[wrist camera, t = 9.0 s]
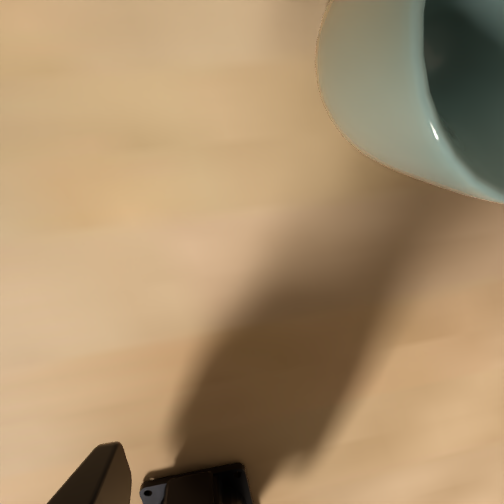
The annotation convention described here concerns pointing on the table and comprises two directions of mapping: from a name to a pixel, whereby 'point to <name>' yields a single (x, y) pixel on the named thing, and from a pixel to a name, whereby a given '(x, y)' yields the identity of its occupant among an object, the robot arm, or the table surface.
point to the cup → (419, 87)
